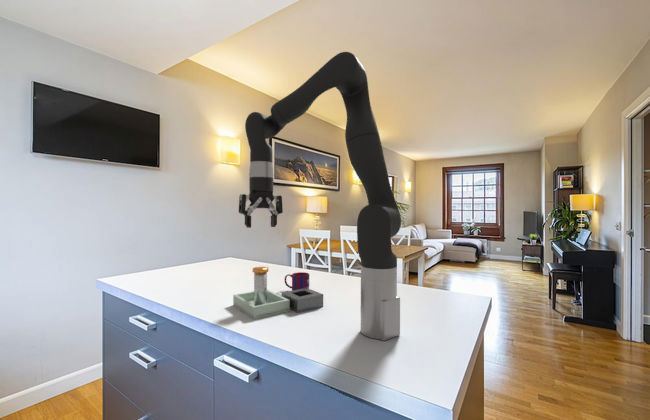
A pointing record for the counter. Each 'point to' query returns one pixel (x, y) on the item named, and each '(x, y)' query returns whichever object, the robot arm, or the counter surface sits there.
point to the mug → (299, 280)
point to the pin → (260, 285)
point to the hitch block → (303, 299)
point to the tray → (272, 307)
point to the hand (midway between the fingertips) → (261, 227)
